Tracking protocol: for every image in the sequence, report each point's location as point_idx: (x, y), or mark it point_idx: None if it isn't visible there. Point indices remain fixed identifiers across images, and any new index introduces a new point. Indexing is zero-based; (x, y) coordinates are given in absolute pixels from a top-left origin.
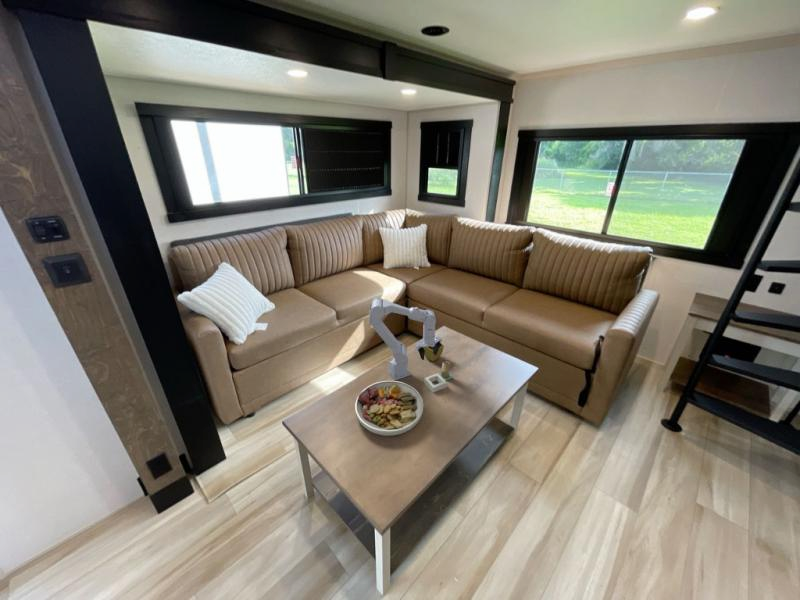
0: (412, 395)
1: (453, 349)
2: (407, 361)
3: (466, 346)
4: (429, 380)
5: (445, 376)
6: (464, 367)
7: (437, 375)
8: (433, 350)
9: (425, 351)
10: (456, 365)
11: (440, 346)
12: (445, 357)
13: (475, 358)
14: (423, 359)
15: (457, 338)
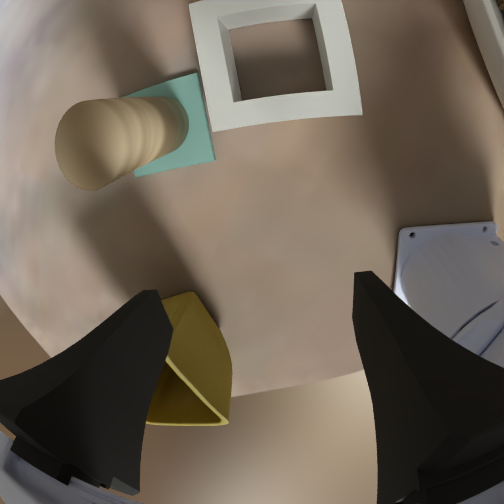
0: (500, 16)
1: (74, 321)
2: (462, 316)
3: (32, 310)
4: (331, 67)
5: (162, 97)
6: (42, 183)
7: (227, 103)
8: (157, 363)
9: (220, 371)
10: (71, 211)
11: (16, 375)
12: (113, 292)
13: (5, 231)
14: (366, 275)
15: None
